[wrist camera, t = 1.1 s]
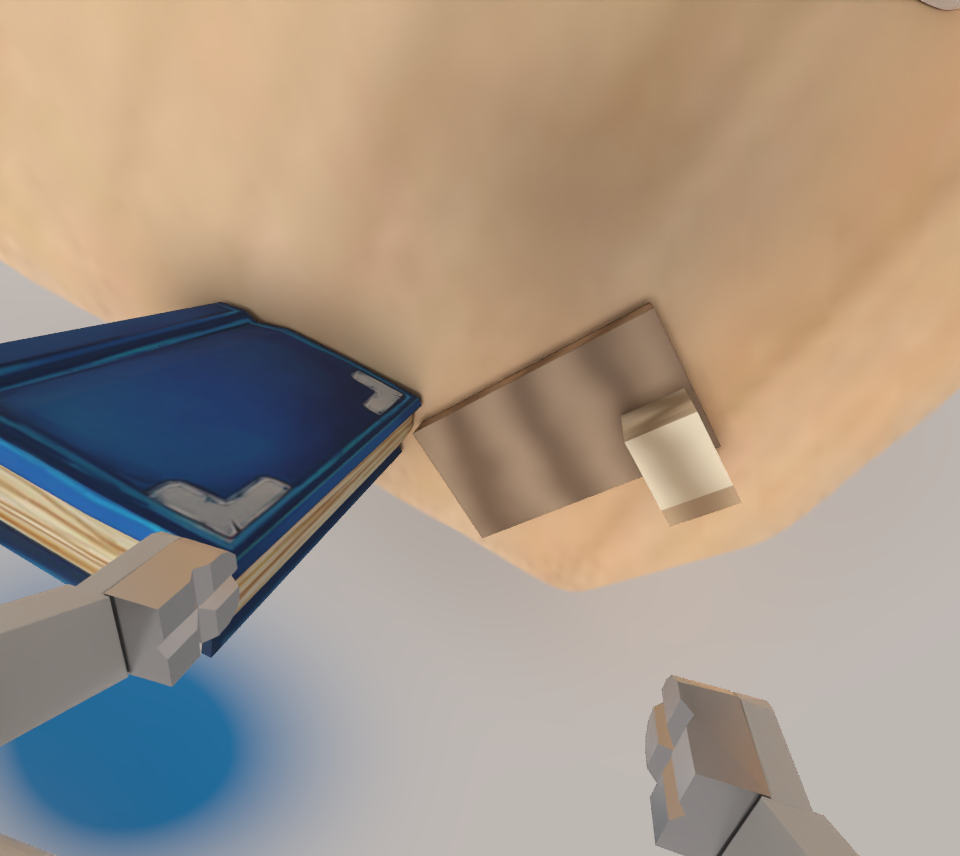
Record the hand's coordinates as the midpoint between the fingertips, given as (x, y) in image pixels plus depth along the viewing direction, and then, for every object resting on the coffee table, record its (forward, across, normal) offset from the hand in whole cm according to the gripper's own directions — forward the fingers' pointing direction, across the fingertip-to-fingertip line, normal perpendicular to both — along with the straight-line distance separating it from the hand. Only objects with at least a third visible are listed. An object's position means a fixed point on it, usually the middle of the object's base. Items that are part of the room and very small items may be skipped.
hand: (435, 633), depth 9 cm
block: (+32, -11, +7) cm, 35 cm away
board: (+32, -2, +9) cm, 34 cm away
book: (+33, +21, +9) cm, 40 cm away
